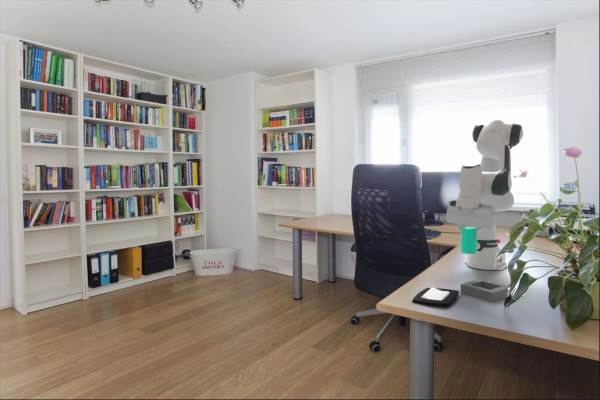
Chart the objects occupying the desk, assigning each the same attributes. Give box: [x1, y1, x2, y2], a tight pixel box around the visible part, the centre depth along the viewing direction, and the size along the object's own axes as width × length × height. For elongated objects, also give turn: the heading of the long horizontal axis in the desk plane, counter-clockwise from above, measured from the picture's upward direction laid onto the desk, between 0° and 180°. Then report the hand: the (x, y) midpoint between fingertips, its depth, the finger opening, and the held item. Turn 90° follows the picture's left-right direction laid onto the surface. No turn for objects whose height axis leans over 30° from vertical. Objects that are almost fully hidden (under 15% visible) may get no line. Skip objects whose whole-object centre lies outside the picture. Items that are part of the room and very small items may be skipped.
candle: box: [460, 226, 477, 255], centre depth 158 cm, size 6×6×12 cm
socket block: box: [459, 278, 509, 303], centre depth 147 cm, size 13×13×4 cm
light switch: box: [412, 287, 460, 308], centre depth 142 cm, size 20×3×14 cm
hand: (469, 236), depth 158 cm, fingers closed on candle, 5 cm apart
